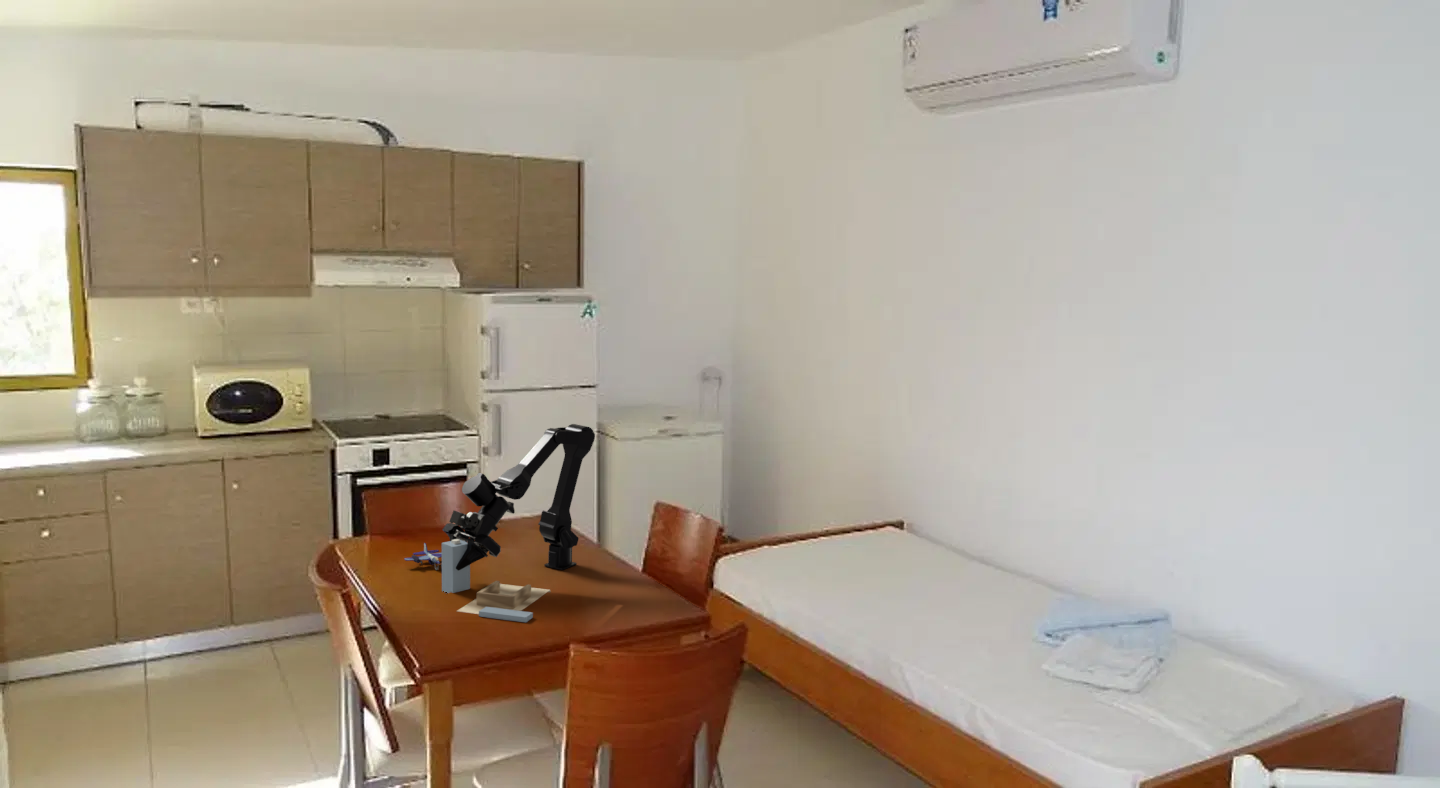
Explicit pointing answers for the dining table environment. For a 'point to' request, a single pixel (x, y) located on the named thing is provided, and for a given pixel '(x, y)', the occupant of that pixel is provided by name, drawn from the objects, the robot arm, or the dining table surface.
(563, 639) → the dining table surface
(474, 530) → the robot arm
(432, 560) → the toy airplane
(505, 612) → the light blue bar
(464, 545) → the blue-grey rectangular block
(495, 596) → the jig
